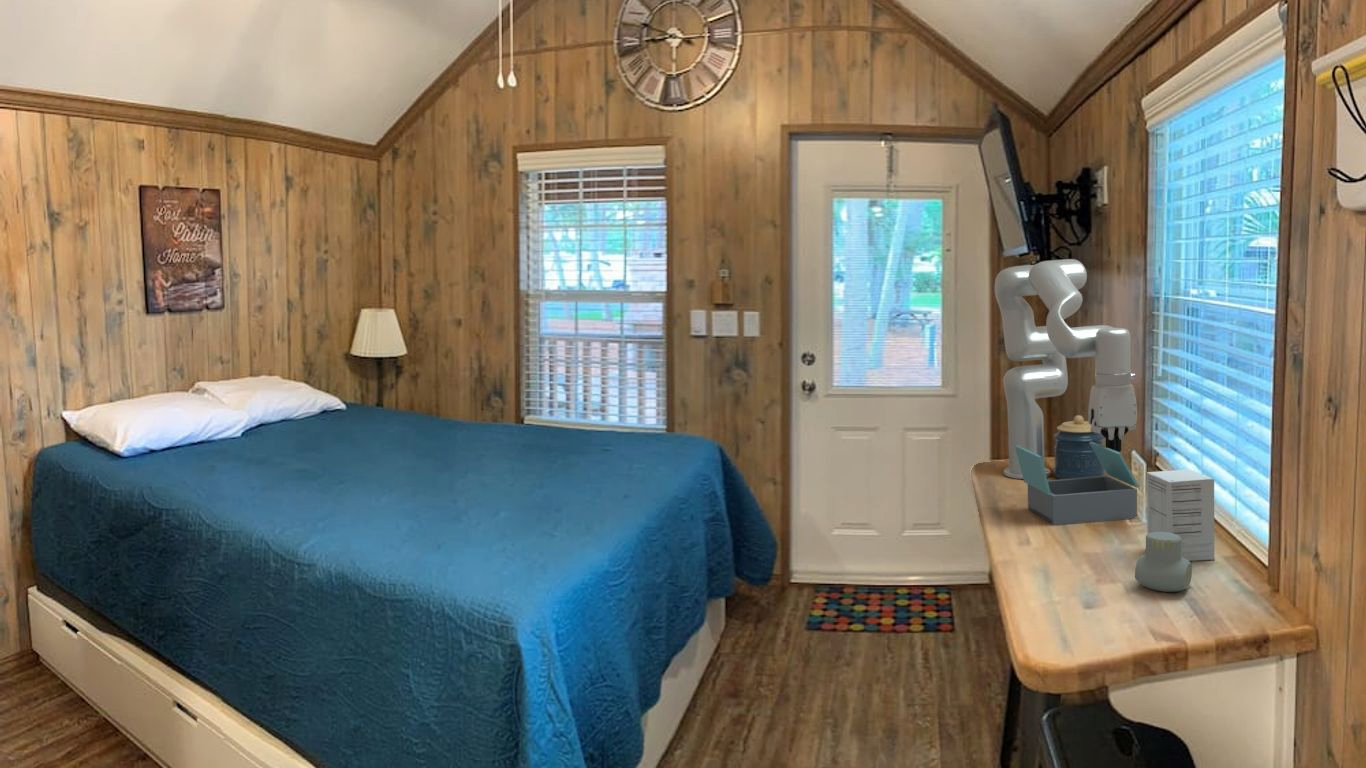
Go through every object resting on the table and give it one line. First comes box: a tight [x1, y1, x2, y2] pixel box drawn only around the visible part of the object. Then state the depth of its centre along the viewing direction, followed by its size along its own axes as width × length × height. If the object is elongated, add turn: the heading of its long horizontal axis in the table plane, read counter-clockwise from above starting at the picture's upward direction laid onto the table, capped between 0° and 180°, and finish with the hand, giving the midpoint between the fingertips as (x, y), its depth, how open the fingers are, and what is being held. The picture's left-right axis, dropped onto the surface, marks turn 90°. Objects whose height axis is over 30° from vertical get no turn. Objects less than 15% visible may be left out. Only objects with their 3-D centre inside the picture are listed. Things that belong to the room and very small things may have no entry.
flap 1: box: [1015, 445, 1051, 495], centre depth 211 cm, size 14×10×1 cm
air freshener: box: [1134, 532, 1193, 593], centre depth 164 cm, size 11×8×10 cm
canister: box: [1053, 414, 1106, 480], centre depth 245 cm, size 13×13×18 cm
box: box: [1027, 475, 1138, 526], centre depth 212 cm, size 14×20×7 cm
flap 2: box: [1089, 442, 1140, 489], centre depth 211 cm, size 14×10×1 cm
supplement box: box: [1146, 469, 1216, 562], centre depth 180 cm, size 10×9×17 cm
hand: (1113, 454), depth 211 cm, fingers closed
